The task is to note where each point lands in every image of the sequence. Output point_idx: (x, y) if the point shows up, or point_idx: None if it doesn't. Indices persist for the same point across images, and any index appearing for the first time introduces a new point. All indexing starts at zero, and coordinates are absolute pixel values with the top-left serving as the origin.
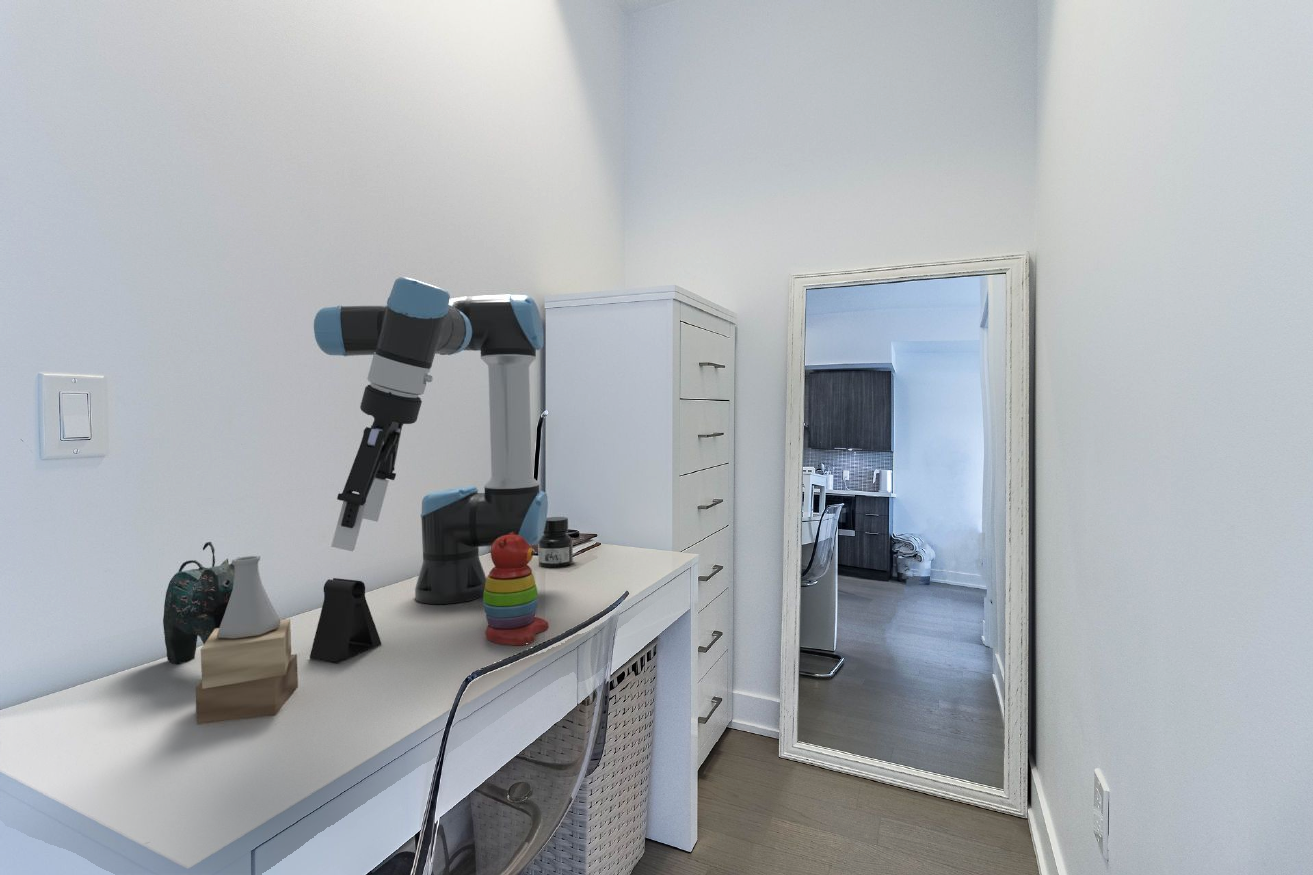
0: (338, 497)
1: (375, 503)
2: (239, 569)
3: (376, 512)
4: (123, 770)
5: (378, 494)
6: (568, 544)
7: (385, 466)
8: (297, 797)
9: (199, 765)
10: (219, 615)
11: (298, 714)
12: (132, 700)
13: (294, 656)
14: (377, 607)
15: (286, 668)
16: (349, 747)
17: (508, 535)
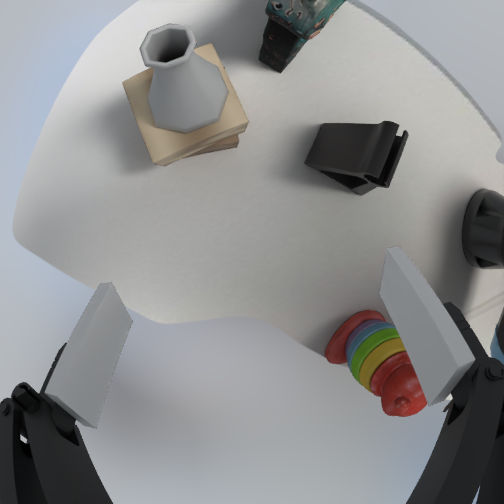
0: (16, 391)
1: (403, 320)
2: (151, 52)
3: (389, 307)
4: (83, 103)
5: (416, 347)
6: None
7: (431, 466)
8: (51, 262)
9: (82, 157)
10: (274, 21)
11: (164, 186)
12: (221, 11)
13: (229, 142)
14: (464, 153)
15: (180, 158)
16: (105, 268)
17: (418, 405)
